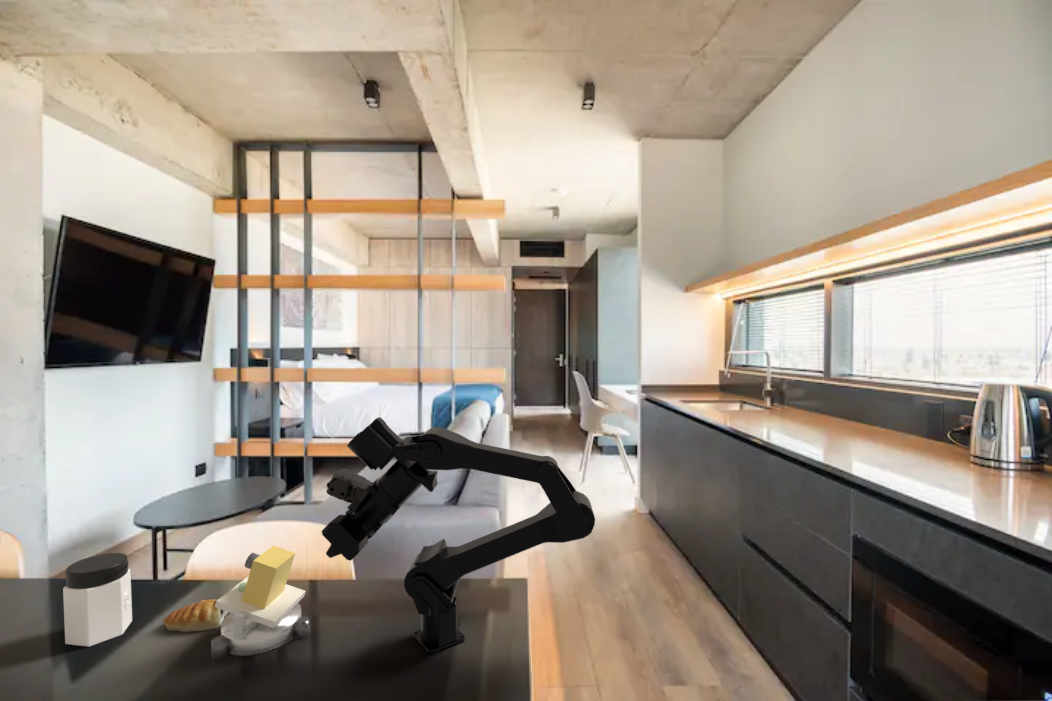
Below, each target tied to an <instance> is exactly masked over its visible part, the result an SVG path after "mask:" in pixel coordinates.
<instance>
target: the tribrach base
mask: <svg viewBox="0 0 1052 701" xmlns="http://www.w3.org/2000/svg"><path fill="white" fill-rule="evenodd" d="M310 623H311V622H310V617H307V616H302V606H301V604H300V603H299V602H298V603H297V604H296V605H295V606H294V607H293V608H292V609H291V610H290V611H289V612H288V613H287V614H286V615H285V616H284V617H283V618H282V620H281V621H280V622H279V623H278V624H277V625H276V626H275V627H274V628H272V627H269V626H266V625H264V624H261V623H258V622H255V621H252V620H250V619H246V613H237V614H233V613H230V612H229V614H228V613H227V614H226V616H225V617H224V619H223V621H222V623H221V625H220V635H218V636H216V637H213V638H212V639H211V642H210V643H211V644H210V646H211V650H210V651H211V658H212V659H213V660H221V659H223V658H225V657H227V656H228V655H229V654H230V655H234V656H246V657H247V656H254V655H253V654H255V655H259V654H258V653H260V654H264V653H267V651H268V652H270V651H269V650H271V651H273V650H272V649H274V650H276V649H278V647H279V648H281V647H283V646H285V645H286V644H288V643H289V642H291V641H293V639H295V640H302V639H305V638H308V637H309V636H310V634H311V628H310V625H311V624H310ZM294 637H295V638H294ZM290 640H291V641H290ZM284 644H285V645H284ZM282 645H283V646H282ZM280 646H281V647H280ZM275 648H276V649H275ZM263 652H264V653H263Z"/></svg>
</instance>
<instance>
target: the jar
mask: <svg viewBox="0 0 1052 701" xmlns="http://www.w3.org/2000/svg"><path fill="white" fill-rule="evenodd" d="M128 560H129V558H128V555H127V554H125V553H122V552H109V553H108V552H107V553H102V554H97V555H96V554H95V555H92V556H89V557H85V558H82V559H80V560H77V561H74V562H73V563H71V564H70V565H68V566H67V568H66V569H65V583H66V584H65V586H63V589H62V591H63V592H62V595H63V596H62V597H63V600H62V601H63V618H64V619H63V620H64V622H63V623H64V644H65V645H70V646H71V645H72V646H78V647H92V646H95V645H97V644H101V643H103V642H106V641H109V640H112V639H114V638H117V637H120V636H122V635H123V634H124V633H125V632H126V630H127V628H129V626H130V625H131V623H132V622H133V606H132V605H133V604H132V602H133V601H132V600H133V599H132V581H131V580H132V576H131V568H129V561H128Z"/></svg>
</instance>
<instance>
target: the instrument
mask: <svg viewBox="0 0 1052 701" xmlns="http://www.w3.org/2000/svg"><path fill="white" fill-rule="evenodd" d="M295 555H296V552H294V551H290V550H287V549H284V548H282V547H279V546H276V545H272V546H271V547H270V548H267V549H266V551H264V552H262V554H258V553H256V552H251V553H250V554H249V555H248V556H247V558H246V560H245V563H244V568H246V569H250V571H249V573H248V576H247V577H246V578H244V579H243V580H242V581H240V582H239V583H238V584H236V585H235V586H234V587H232V588H231V589H230V590H228V591H227V592H226V593H225V594H224V595H222V596H220V597H219V599H218V600H217V601H216V604H215V607H216V608H219V609H222V610H224V611H227V612H228V613H229V614H230V613H233V614H237V613H246V619H250V620H252V621H255V622H258V623H261V624H264V625H266V626H269V627H272V628H274V627H275V626H276V625H277V624H278V623H279V622H280V621H281V620H282V618H283V617H284V616H285V615H286V614H287V613H288V612H289V611H290V610H291V609H292V608H293V607H294V606H295V605H296V604H297V603H299V602H300V601H301V600H302V599H303V598H304V597H305V595H306V590H305V589H301V588H298V587H297V586H296V587H295V586H293V585H289V584H287V581H288V578H289V575H290V572H291V569H292V565H293V562H294V558H295Z"/></svg>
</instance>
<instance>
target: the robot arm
mask: <svg viewBox="0 0 1052 701" xmlns="http://www.w3.org/2000/svg"><path fill="white" fill-rule="evenodd" d="M346 447H347V448H348V449H349V450H350V451H351V452H352V454H354V455H355V456H357V458H359V460H361V462H363V463H364V465H365V466H367V467H368V469H370V470H371V471H373V470H374V471H377V470H378V469H379V470H380V471H383V469H385V468H386V467H387V466H388V464H390V462H392V461H393V460H394V459H395V460H396V461H395V462H394V463H393V464H392V465H391V466H390V467H389V468H388V469H387V470H386V471H385V472H384V473H383V474H382V475H381V476H380V477H377V478H376V479H375V480H374V481H373V482H372V481H371V480H369V479H367V478H366V477H365V476H363V475H360V474H358V473H356V472H354V471H353V470H350V469H348V468H347V469H346V468H341V469H340V470H338V471H336V472H335V473H333V475H332V477H331V479H330V481H329V482H327V483H326V488H327V489H326V494H327V495H329V496H330V497H333V498H336V499H338V500H340V501H344V502H345V503H350V504H349V505H348V506H347V507H346V508H347V509H348V510H346V511H345V514H338V515H337V516H336V517H334V519H332V520H331V521H330V522H329V523H328V524H327V525H326V526H325V527H324V528H323V529H322V530H321V535H322V536H323V537H324V538H325V539H326V540H327V542H329V543H330V546H329V547H328V549H327V551H326V552H325V555H327V557H328V558H330V559H332V558H335V557H337V556H340V555H341V556H342V557H343V558H345V560H346V561H352V560H354V558H356V556H357V555H359V553H360V552H361V551H362V550H363V549H364V548H365V547H366V545H368V543H369V539H372V538H373V537H374V536H375V535H376V534H377V532H378V531H379V530H380V529H381V527H382V526H384V525H385V524H386V523H388V522H389V521H390V519H391V518H393V516H394V515H395V514H396V512H397V511H399V509H400V508H401V507H403V505H404V504H405V503H406V502H408V500H410V498H411V497H412V496H413V495H414V494H415V493H416V492H417V491H418V490H419V489H420V488H421V487H424V488H425V489H426V490H427V492H429V493H433V491H434V490H435V488H436V487H437V485H438V477H437V476H438V471H453V470H454V471H455V470H474V471H479V472H483V473H487V474H493V475H498V476H501V477H507V478H513V479H517V480H521V481H522V480H523V481H527V482H532V483H537V484H538V485H539V486H540V487H541V488H542V490H543V492H544V494H545V495H546V497H547V499H548V500H549V503H548V504H547V505H546V506H545V507H543V508H542V509H541V510H540V511H539V512H538V513H536V514H535V515H533V516H530V517H527V518H525V519H522V520H520V521H517V522H515V523H513V524H511V525H508V526H506V527H502V528H501V529H497V530H496V531H493V532H490V533H489V534H486V535H484V536H481V537H479V538H476V539H474V540H473V539H472V540H470V541H469V542H466V543H463V544H461V545H458V546H448V545H447V542H446V539H445V538H443V539H441V540H439V541H438V542H436V543H434V544H432V545H425V546H422V549H421V551H420V552H419V553H418V554H417V555H416V556H415V558H414V559H413V560H412V563H411V566H410V567H409V568H408V570H407V572H406V574H405V576H404V580H403V581H404V582H403V586H404V590H405V592H406V593H407V595H408V596H409V597H410V598H411V599H412V600H413V603H414V606H415V608H416V610H417V613H418V614H419V615H420V629H418V630H416V631H414V632H413V633H412V634H413V635H412V636H413V638H414V639H415V640H416V641H417V642H418V643H419V644H420V645H421V646H422V648H424V650H425V651H426V652H427V653H429V654H433V653H435V652H438V651H440V650H443V649H446V648H448V647H452V646H454V645H456V644H459V643H461V642H463V641H465V640H466V636H465V634H463V633H462V631H461V630H460V629H458V628H457V598H456V596H455V595H456V592H457V588H458V585H459V583H460V579H462V577H465V575H467V574H471V573H472V572H476V571H478V570H480V569H483V568H486V567H488V566H490V565H493V564H496V563H498V562H500V561H502V560H503V561H504V560H505V559H507V558H510V557H512V556H516V555H518V554H519V553H523V552H525V551H527V550H530V549H532V548H535V547H537V546H540V545H542V544H546V543H552V544H553V543H557V544H559V543H560V544H562V543H569V542H574V541H578V540H581V539H584V538H587V537H589V535H591V533H592V532H593V530H594V527H595V525H596V518H595V517H596V516H595V514H594V510H593V506H592V505H591V504H592V503H591V501H590V499H589V498H588V496H587V495H585V494H584V493H583V492H580V491H578V490H576V488H575V486H574V485H573V484H572V482H571V481H570V480H569V479H568V477H567V476H566V475H565V473H564V472H563V471H562V469H561V467H560V466H559V464H558V461H557V460H556V459H555V458H554V457H553V456H549V455H537V454H533V453H527V452H524V451H523V452H522V451H519V450H514V449H507V448H504V447H498V446H493V445H489V444H484V443H479V442H476V441H473V440H471V439H468V438H466V437H465V436H464V435H461V434H459V433H458V432H454V431H453V430H450V429H447V428H445V427H441V426H440V427H439V426H433V427H431V428H429V429H428V430H426V431H424V432H423V433H422V434H418V435H412V436H410V435H409V436H406V437H404V438H403V439H402V438H400V436H399V435H398V434H396V432H394V431H393V429H392V428H390V427H389V426H388V424H387V422H386V421H385V420H384V419H383V418H382V416H381V417H377V418H375V419H374V420H373V421H372V422H371V423H370V424H369V425H367V426H366V427H365V428H364V429H363V430H362V431H360V432H358V433H357V434H356V435H355V436H354V437H353V438H351V439H350V441H349V442H348V444H347V445H346Z"/></svg>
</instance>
